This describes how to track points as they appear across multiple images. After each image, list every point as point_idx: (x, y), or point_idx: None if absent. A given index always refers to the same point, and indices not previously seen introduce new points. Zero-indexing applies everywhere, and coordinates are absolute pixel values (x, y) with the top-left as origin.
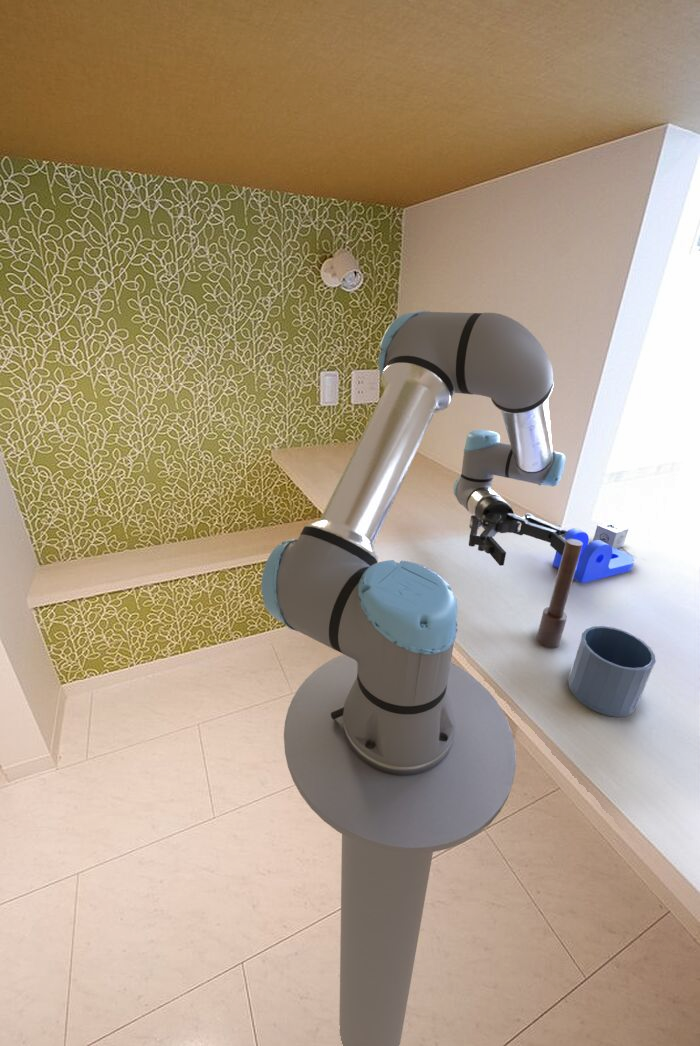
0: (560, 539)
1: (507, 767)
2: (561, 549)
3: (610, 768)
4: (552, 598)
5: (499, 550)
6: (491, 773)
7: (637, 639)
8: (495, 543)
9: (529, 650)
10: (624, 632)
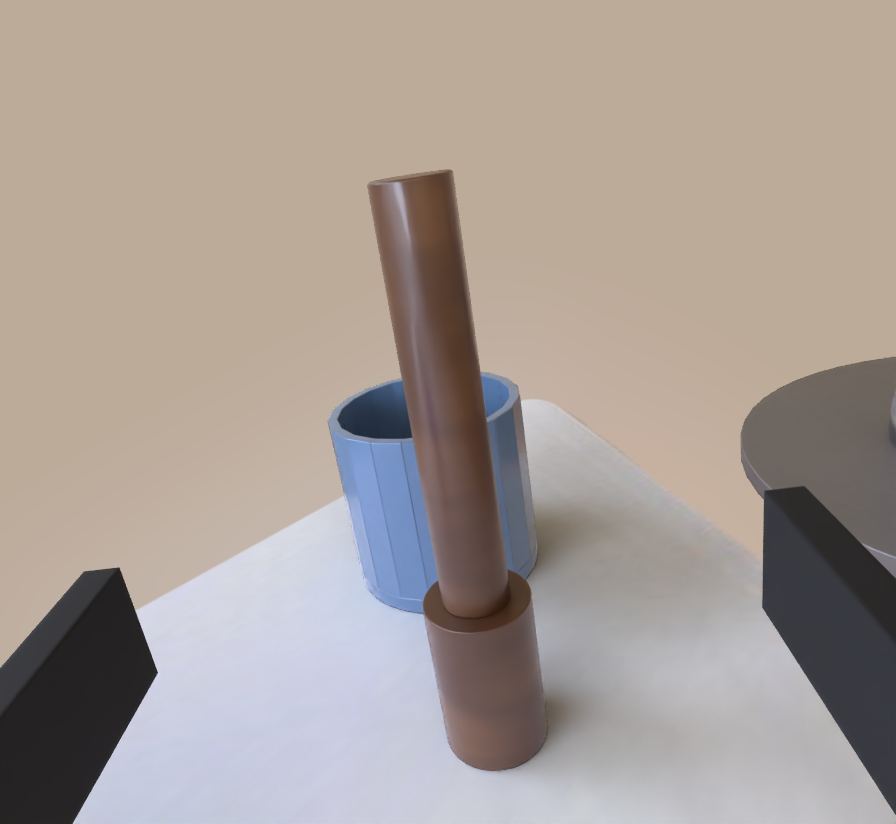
0: (5, 709)
1: (762, 415)
2: (75, 738)
3: (553, 451)
4: (499, 515)
5: (831, 522)
6: (795, 409)
7: (338, 422)
8: (893, 599)
9: (608, 679)
10: (350, 433)
